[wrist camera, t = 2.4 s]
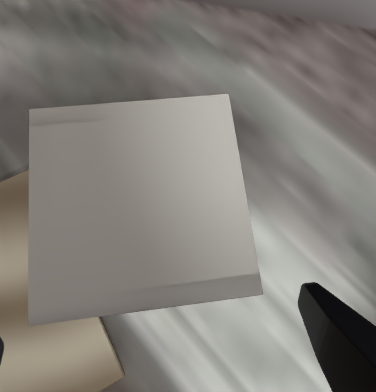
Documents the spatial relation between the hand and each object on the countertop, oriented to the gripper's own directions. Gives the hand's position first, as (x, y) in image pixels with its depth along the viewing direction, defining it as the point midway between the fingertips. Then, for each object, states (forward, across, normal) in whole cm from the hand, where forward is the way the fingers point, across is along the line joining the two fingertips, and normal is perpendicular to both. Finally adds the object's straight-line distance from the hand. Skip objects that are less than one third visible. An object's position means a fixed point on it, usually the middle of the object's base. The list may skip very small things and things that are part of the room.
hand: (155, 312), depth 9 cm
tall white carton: (+9, 0, +5) cm, 10 cm away
